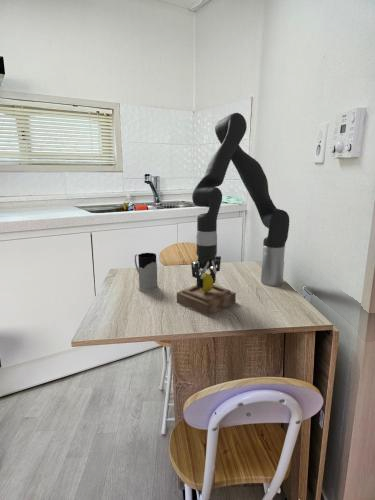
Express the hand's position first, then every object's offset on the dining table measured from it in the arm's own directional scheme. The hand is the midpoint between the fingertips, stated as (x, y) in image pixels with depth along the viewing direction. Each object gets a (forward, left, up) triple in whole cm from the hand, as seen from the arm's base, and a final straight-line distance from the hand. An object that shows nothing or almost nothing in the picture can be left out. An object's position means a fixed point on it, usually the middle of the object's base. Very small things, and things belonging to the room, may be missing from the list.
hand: (206, 285), depth 118 cm
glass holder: (+7, -30, -7) cm, 32 cm away
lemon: (0, 0, -3) cm, 3 cm away
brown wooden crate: (0, 0, -7) cm, 7 cm away
